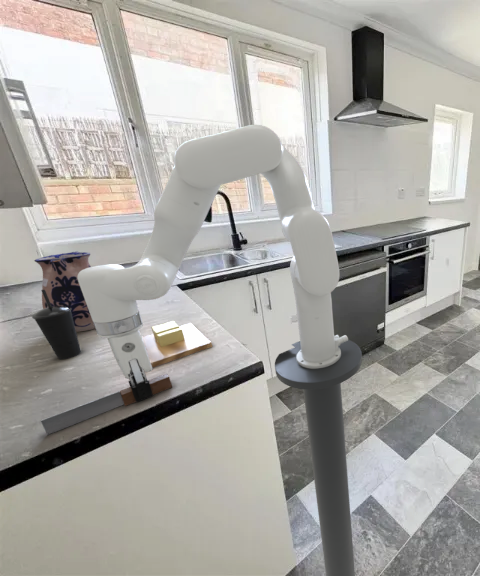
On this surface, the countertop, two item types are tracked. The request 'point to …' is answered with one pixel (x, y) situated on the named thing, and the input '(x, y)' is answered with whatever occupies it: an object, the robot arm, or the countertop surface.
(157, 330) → the butter block
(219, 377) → the countertop surface
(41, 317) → the drinking cup
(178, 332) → the butter slice
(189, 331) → the board
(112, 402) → the knife
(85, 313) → the ceramic pitcher
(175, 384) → the countertop surface
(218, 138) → the robot arm
